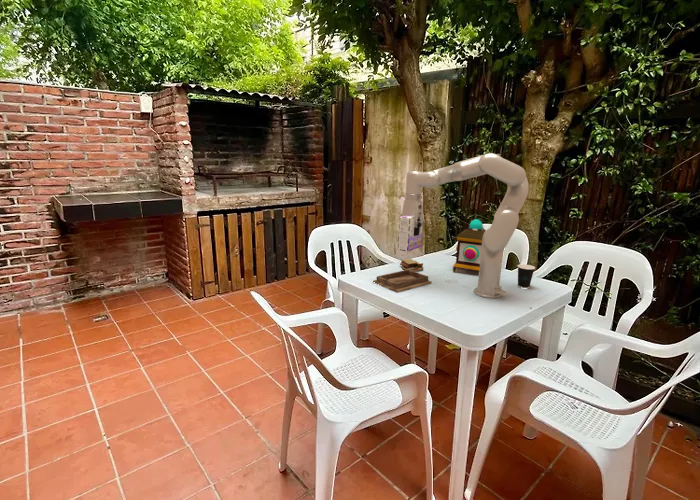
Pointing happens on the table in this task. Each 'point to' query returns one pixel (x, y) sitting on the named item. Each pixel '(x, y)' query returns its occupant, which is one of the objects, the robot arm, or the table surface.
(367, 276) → the table surface
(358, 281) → the table surface
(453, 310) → the table surface
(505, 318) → the table surface
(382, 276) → the tray
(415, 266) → the toy sandwich meal
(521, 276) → the dixie cup
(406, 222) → the candy box
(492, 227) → the robot arm
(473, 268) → the decorative lantern
